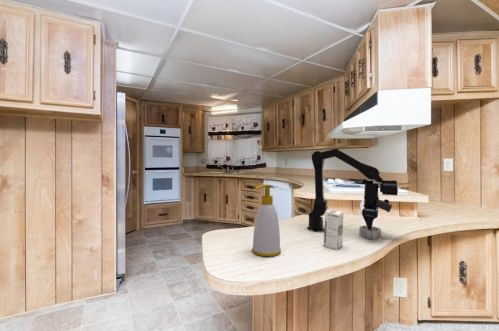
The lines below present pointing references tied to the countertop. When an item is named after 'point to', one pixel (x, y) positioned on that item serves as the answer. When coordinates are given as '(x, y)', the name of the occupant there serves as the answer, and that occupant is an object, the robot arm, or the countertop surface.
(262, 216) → the soap bottle
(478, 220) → the countertop surface
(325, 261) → the countertop surface
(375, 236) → the grey ribbed ring
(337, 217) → the syrup box
